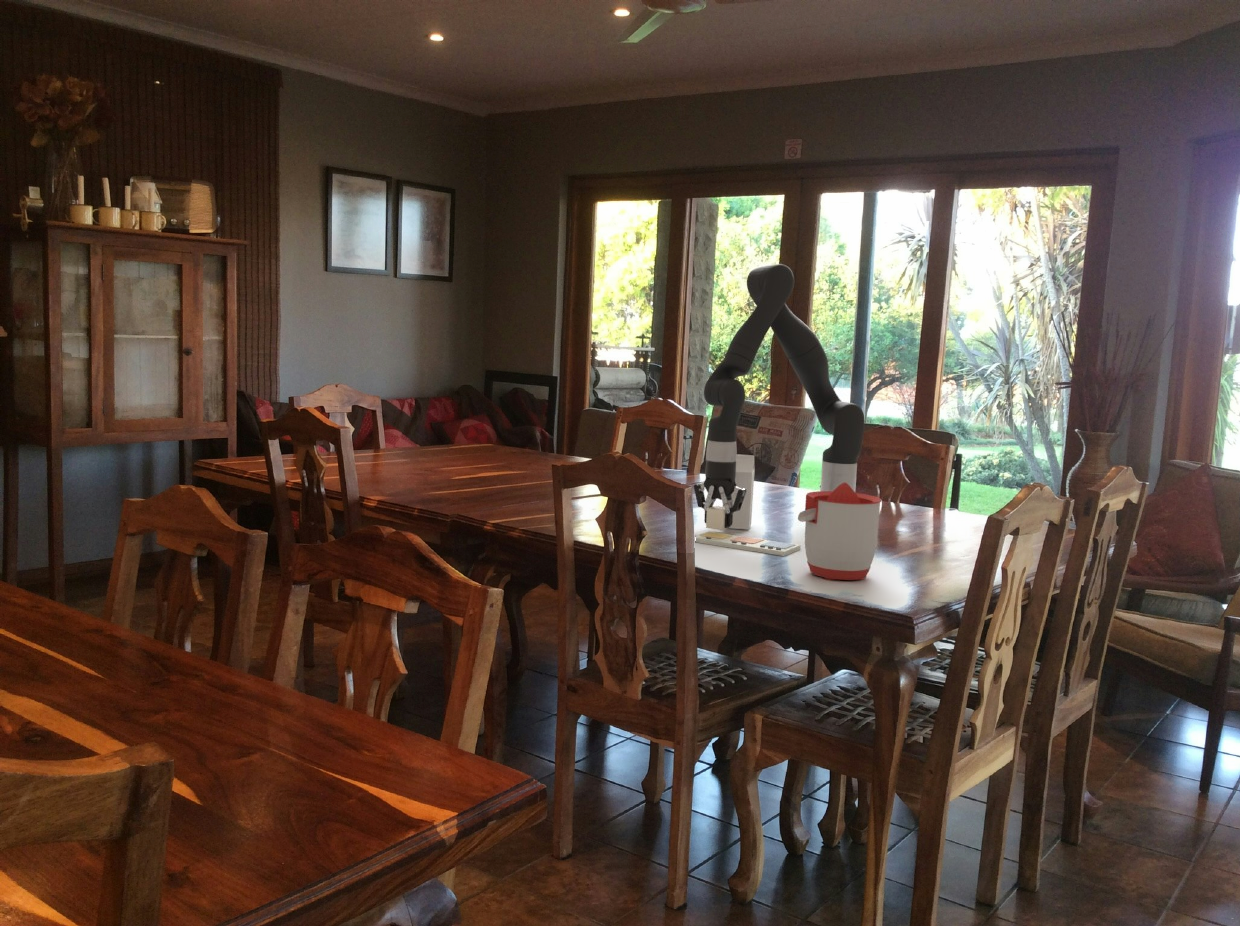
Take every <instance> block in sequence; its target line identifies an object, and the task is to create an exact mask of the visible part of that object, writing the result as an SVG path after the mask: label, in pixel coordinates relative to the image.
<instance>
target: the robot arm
mask: <svg viewBox="0 0 1240 926" xmlns="http://www.w3.org/2000/svg"><path fill="white" fill-rule="evenodd" d="M748 273H749V274H748V275H747V279H746V288H747V292H748V294H749V296H750V298H751V300H752V301H753V302H754V304H755V305H756V307H755V308H754V310H753V311H752V313H751V314H750V315H749V317H747V319H746V320H745V322H743V324H742V325H741V326H740V328H739V329H738V330H737V331H736V333H735V334H734V335H733V337H732V340H731V341H730V343H729V346H728V348H727V350H726V353H725V355H724V357H723V359H722V360H721V362H720V363H719V364H718V365H717V367H716V368H715V369H714V371H713V372H712V373H711V374H710V375H709V377H708V379H707V381H706V382H705V384H704V389H703V397H704V400H705V402H706V403H707V404H708V405H711V406H713V407H718V408H719V407H720V408H721V410H720V413H719V415H717V416H713V417H711V418H710V419H709V422H708V436H707V445H706V451H705V452H706V453H705V473H704V475H705V479H704V481H703V483H701V482H700V483H695V484H694V485H693V489H694V494H695V498H696V503H697V507H698V508H702V509H703V511H704V520H703V521H704V524H706V518H707V508H710V507H713V506H714V504H715V502H716V500H717V499H718V500H720V501H722V506H723V505H724V507H725V511H726V513H725V526H724V527H725V528H727V529H730V528H729V527H730V526H731V525H732V523H733V513H734V512H736V511H739V510H740V509H741V506H742V503H743V500H744V497H745V494H746V489H745V488H743V489H742V488H739V487H737V486H736V483H735V477H736V457H737V453H738V451H737V450H738V449H737V434H738V433H737V432H738V431H737V430H738V429H737V427H738V423H739V420H740V417H741V415H742V414H741V413H742V411H743V407H744V405H745V400H746V390H745V386H744V385H743V383H742V382H741V381H739V380H738V379H737V378H739V377H743V376H746V375H748V373H749V371H750V370H751V367H752V365H753V363H754V362H755V358H756V356H757V354H758V351H759V350H760V347H761V345H762V342H763V340H764V339H765V337H766V335H767V333H768V332H769V330H770V328H771V330H772V331H773V333H774V336H775V337H776V339H777V341H778V342H779V344H780V346H781V348H782V350H783V352H784V354H785V356H786V358H787V359H788V361H789V363H790V365H791V367H792V369H793V371H794V372H795V374H796V376H797V378H798V380H799V381H800V383H801V385H802V387H803V389H804V390H805V392H806V394H807V396H808V398H809V400H810V402H811V405H812V408H813V410H814V412H815V415H816V417H817V421H818V422H819V424H820V426H821V428H822V429H823V430H824V431H825V432H826V433H827V434H829V435H831V436H832V442H831V445H830V446H829V447H828V448H826V449H824V450H823V452H822V460H821V461H822V462H821V474H820V476H821V477H820V489H819V491H834V490H835V489H836V488H837V487H838V486H839V485H841V484H842V483H844V482H845V483H847V484H848V485H849V486H850V487H851V488H852V489H853V491H854V492H855V493H856V488H857V486H856V485H857V484H856V483H857V472H858V459H859V456H860V454H861V451H862V449H863V448H862V447H863V441H864V440H863V439H864V431H865V414H864V411H863V409H862V407H860V406H859V405H858V404H856V403H853V402H849V401H848V402H847V401H842V400H841V399H840V398H839V396H838V394H837V393H836V391H835V389H834V388H833V387H834V386H833V385H832V383H831V381H830V376H829V375H830V373H829V362H828V361H829V360H828V356H827V354H826V351H825V349H824V347H823V345H822V344H821V341H820V340H819V338H818V336H817V335H816V333H815V332H814V331H813V330H812V329H811V328H810V327H809V326H808V325H807V324H805V323H804V321H802V320H801V319H800V318H799V317H798V316H796V315H795V314H794V313H793V311H792V310H791V309H790V308H789V307H788V305H787V304H786V302H787V300H789V297H790V296H791V294H792V292H793V290H794V286H795V277H794V274H793V271H792V270H791V268H790V267H789V266H787V265H786V264H782V263H775V264H770V265H764V266H760V267H756V268H754V269H752V270H751V271H749V272H748ZM705 490H706V492H707V495H706V497H705ZM734 491H735V495H736V499H735V502H734V505H733V504H732V503H733V500H732V495H731V494H732V493H733V492H734Z"/></svg>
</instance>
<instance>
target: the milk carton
mask: <svg viewBox="0 0 1240 926" xmlns="http://www.w3.org/2000/svg"><path fill="white" fill-rule="evenodd" d="M755 470H756V469H755V455H753V454H752V455H751V454H750V455H749V454H739V453H738V454H737V457H736V477H735V483H736V486H737V487H739V488H742V489H743V488H745V489H746V494H745V497H744V500H743V503H742V506H741V509H740V510H739V511H736V512H734V513H733V523H732V525H731V526H730V528H729V529H734V530H735V529H736V530H746V531H747V530H750V529H751V527H752V516H753V514H752V513H753V504H754V503H753V501H754V488H755V487H754V483H755ZM731 495H732V500H733V503H732V504H733V505H734V502H735V499H736V495H735V491H734V492H733V493H732V494H731ZM722 507H724V505H723V504H722Z"/></svg>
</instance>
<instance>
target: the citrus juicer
mask: <svg viewBox="0 0 1240 926" xmlns="http://www.w3.org/2000/svg"><path fill="white" fill-rule="evenodd" d="M882 501H883V500H882V499H881V498H880V497H878V496H876V495H875V496H874V495H871V494H864V493H857V492H856V491H855V492H854V491H853V489H852V488H851V487H850V486H849V485H848V484H847V483H845V482H844V483H842V484H841V485H839V486H838V487H837V488H836V489H835V490H834V491H820V490H819V491H812V492H807V493H806V495H805V509H804V510H803V511H800V512H799V513H798V515H797V516H798V517H797V521H798V522H801V523H804V522H805V526H804V546H805V547H804V549H805V555H806V559H807V565H808V568H809V571H810V573H812V574H813V575H815V576H818V577H821V578H825V579H826V580H829V581H835V580H845V581H851V580H852V581H854V580H857V581H861V580H863V579H865V578H867V575H868V573H869V571H870V570H871V567H872V563H873V561H874V557H875V554H876V550H877V543H878V536H879V535H878V534H879V521H880V520H879V519H880V508H881V507H880V506H881V503H882Z"/></svg>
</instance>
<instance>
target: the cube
mask: <svg viewBox="0 0 1240 926" xmlns="http://www.w3.org/2000/svg"><path fill="white" fill-rule="evenodd" d="M725 513H726V511H725V507H723V506H719V505H718V506H717V505H713V507H710V508H707V518H706V523H705V529H712V530H717V531H718V530H719V531H724V530H727V529H731V528H730V527H729V528H725V527H724V526H725Z"/></svg>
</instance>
